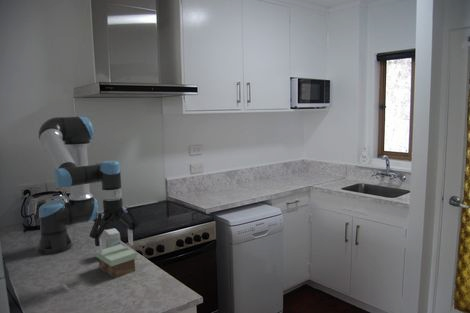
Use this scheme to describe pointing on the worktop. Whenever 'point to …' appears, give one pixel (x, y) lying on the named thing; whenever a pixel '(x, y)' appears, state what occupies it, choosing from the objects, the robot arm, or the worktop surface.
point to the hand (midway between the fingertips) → (116, 248)
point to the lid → (116, 255)
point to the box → (118, 268)
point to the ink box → (112, 237)
